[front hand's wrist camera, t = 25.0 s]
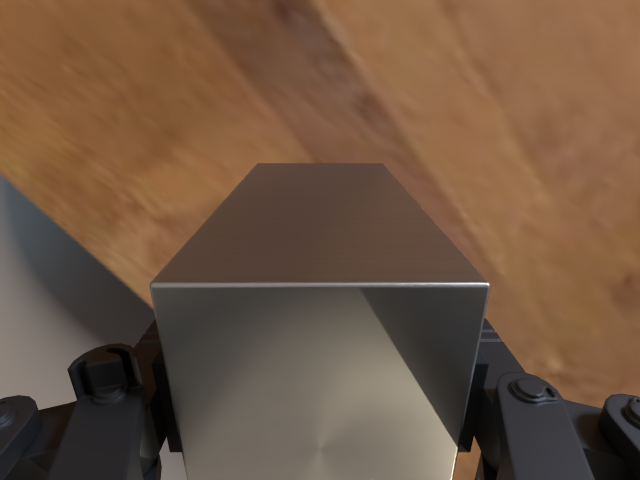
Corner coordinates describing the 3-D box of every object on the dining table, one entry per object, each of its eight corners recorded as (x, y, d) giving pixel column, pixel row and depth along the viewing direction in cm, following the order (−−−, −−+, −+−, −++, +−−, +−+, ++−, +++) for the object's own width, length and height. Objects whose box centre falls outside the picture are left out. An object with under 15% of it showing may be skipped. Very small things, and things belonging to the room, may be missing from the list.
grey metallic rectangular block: (266, 308, 20) (202, 562, 9) (256, 163, 17) (146, 284, 6) (374, 308, 20) (437, 562, 9) (383, 163, 17) (493, 284, 6)
